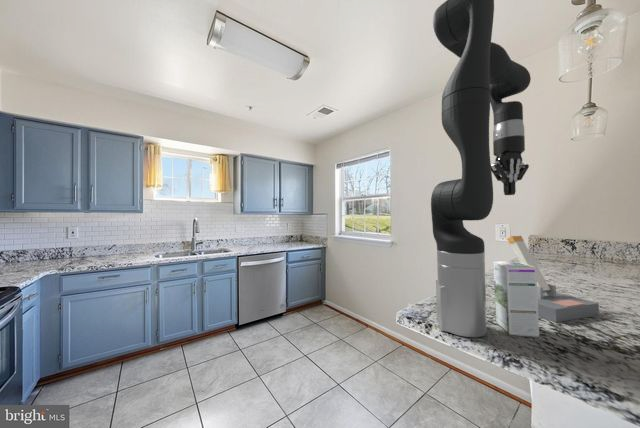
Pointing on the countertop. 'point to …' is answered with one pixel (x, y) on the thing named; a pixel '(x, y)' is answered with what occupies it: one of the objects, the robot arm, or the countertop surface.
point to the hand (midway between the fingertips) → (509, 195)
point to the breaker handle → (527, 259)
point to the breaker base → (564, 306)
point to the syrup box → (516, 298)
